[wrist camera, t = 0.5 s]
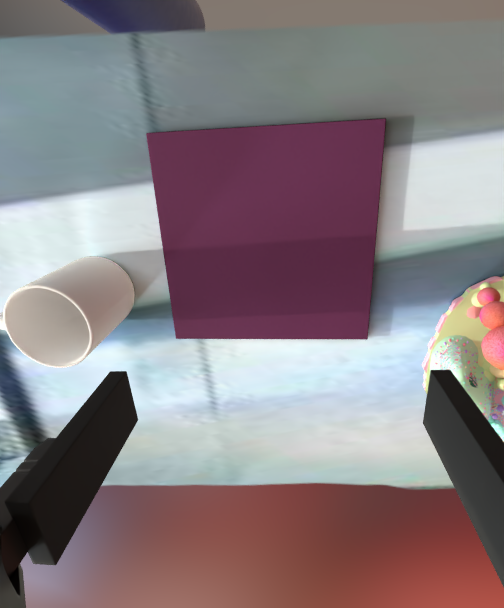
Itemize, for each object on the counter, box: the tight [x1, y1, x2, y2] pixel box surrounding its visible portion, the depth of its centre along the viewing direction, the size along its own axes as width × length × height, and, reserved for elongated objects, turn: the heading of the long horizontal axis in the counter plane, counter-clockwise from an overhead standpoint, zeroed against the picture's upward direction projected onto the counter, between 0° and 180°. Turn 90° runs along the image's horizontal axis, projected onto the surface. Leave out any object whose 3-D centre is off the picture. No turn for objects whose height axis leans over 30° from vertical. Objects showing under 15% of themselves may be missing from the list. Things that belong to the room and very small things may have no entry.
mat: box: [146, 119, 386, 339], centre depth 37 cm, size 22×22×1 cm
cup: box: [0, 256, 135, 368], centre depth 37 cm, size 8×12×10 cm
